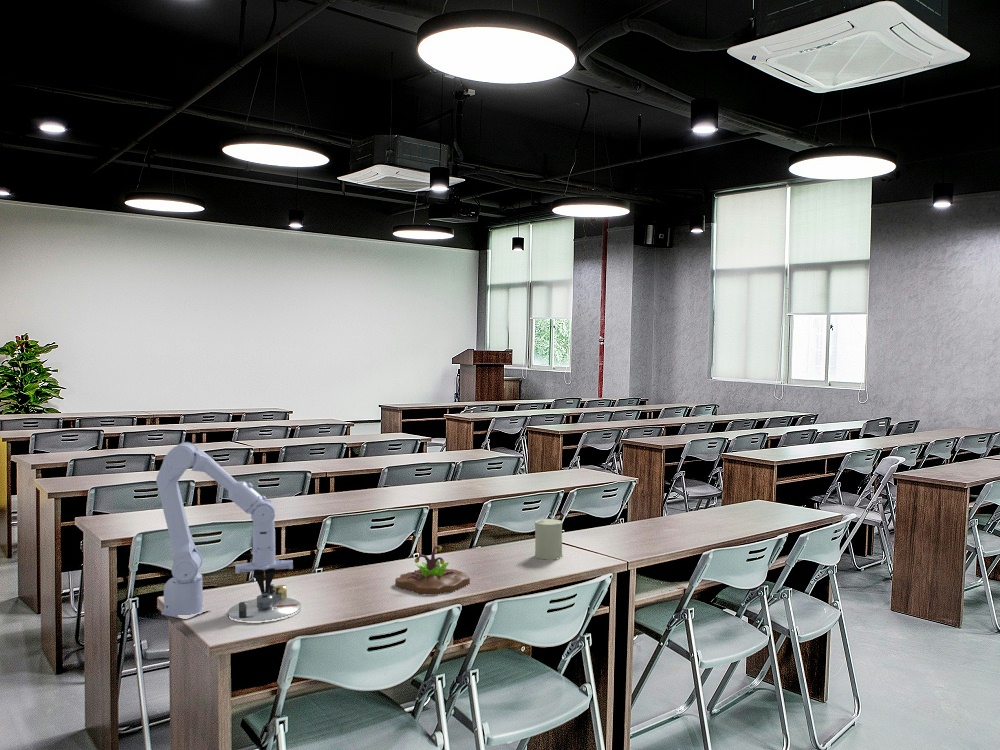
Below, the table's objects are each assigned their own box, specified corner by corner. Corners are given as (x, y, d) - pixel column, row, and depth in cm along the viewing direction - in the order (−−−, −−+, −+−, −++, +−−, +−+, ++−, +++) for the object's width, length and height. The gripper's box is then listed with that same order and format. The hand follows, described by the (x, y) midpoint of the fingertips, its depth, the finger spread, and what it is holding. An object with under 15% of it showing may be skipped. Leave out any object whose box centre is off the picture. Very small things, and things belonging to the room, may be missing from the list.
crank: (266, 609, 194) (266, 597, 194) (253, 608, 195) (253, 595, 195) (290, 597, 204) (290, 585, 204) (277, 596, 205) (277, 584, 205)
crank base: (212, 616, 193) (212, 598, 193) (265, 597, 209) (265, 580, 209) (264, 628, 185) (264, 608, 184) (315, 606, 200) (314, 588, 200)
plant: (481, 584, 221) (481, 546, 221) (432, 599, 207) (432, 559, 206) (435, 571, 235) (435, 535, 234) (386, 585, 220) (385, 547, 220)
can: (530, 554, 254) (530, 518, 253) (556, 551, 256) (556, 516, 256) (540, 560, 245) (540, 524, 245) (566, 558, 248) (566, 522, 247)
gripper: (234, 552, 195) (235, 605, 195) (292, 547, 199) (293, 599, 199) (235, 546, 201) (236, 596, 201) (292, 541, 205) (292, 591, 206)
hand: (264, 597), depth 201 cm, fingers closed
